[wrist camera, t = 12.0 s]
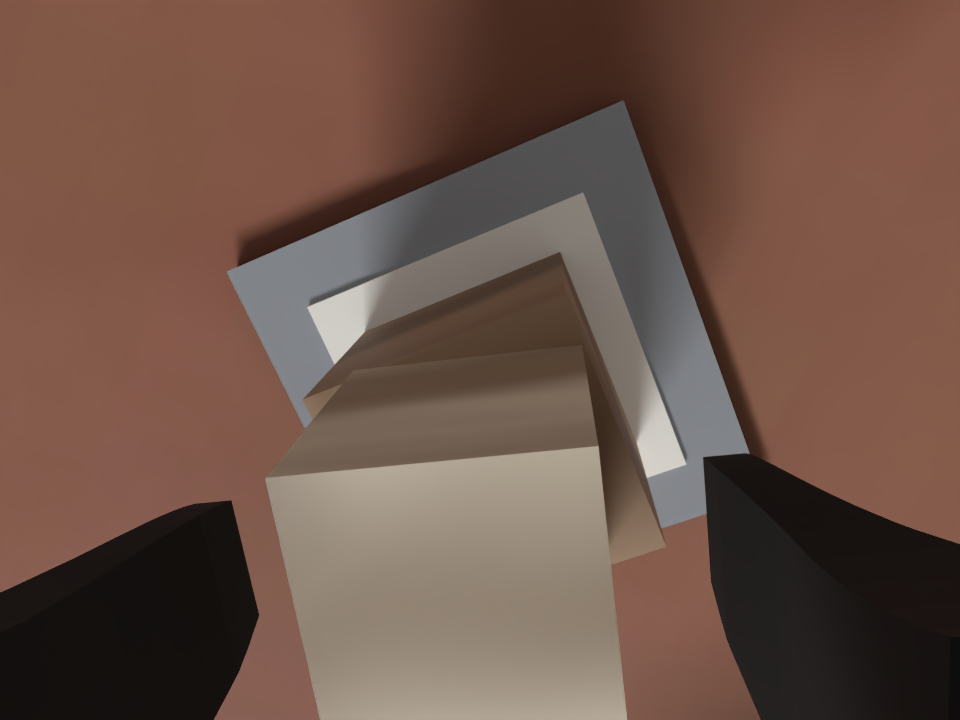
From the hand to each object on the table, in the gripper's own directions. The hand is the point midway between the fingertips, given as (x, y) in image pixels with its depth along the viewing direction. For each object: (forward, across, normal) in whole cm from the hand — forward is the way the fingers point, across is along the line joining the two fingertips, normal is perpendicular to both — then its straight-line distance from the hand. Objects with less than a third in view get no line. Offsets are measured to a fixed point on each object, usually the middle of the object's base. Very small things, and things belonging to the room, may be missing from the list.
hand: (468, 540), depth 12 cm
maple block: (+2, 0, 0) cm, 3 cm away
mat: (+8, 0, 0) cm, 8 cm away
